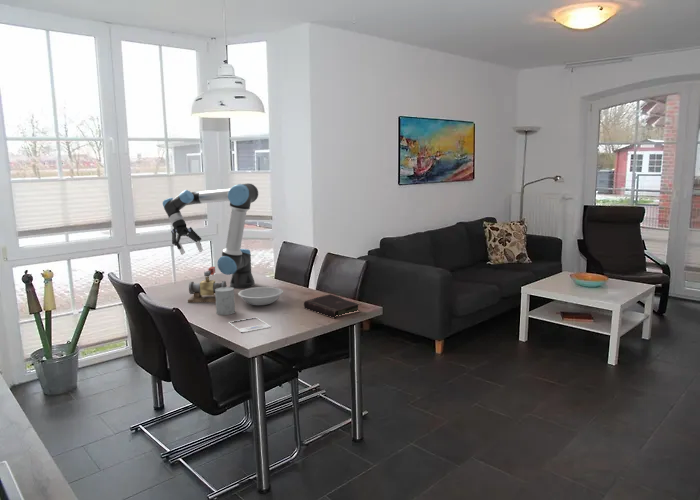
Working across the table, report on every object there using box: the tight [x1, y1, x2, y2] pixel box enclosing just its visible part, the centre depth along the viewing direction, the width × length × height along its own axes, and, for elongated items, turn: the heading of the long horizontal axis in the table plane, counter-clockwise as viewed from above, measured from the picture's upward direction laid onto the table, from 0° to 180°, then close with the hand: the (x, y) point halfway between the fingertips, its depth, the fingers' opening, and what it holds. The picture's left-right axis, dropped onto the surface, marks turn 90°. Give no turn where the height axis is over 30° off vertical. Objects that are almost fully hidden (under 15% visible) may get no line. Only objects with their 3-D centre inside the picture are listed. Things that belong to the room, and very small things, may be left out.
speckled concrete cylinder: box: [214, 286, 236, 316], centre depth 265 cm, size 10×10×12 cm
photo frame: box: [227, 316, 272, 333], centre depth 245 cm, size 15×1×18 cm
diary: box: [303, 293, 362, 318], centre depth 268 cm, size 19×25×5 cm
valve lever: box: [203, 266, 216, 277], centre depth 294 cm, size 3×16×4 cm, turn 1°
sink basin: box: [237, 286, 284, 306], centre depth 281 cm, size 24×24×7 cm
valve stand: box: [187, 276, 227, 304], centre depth 289 cm, size 20×11×13 cm, turn 91°
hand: (192, 252), depth 306 cm, fingers open, 13 cm apart
